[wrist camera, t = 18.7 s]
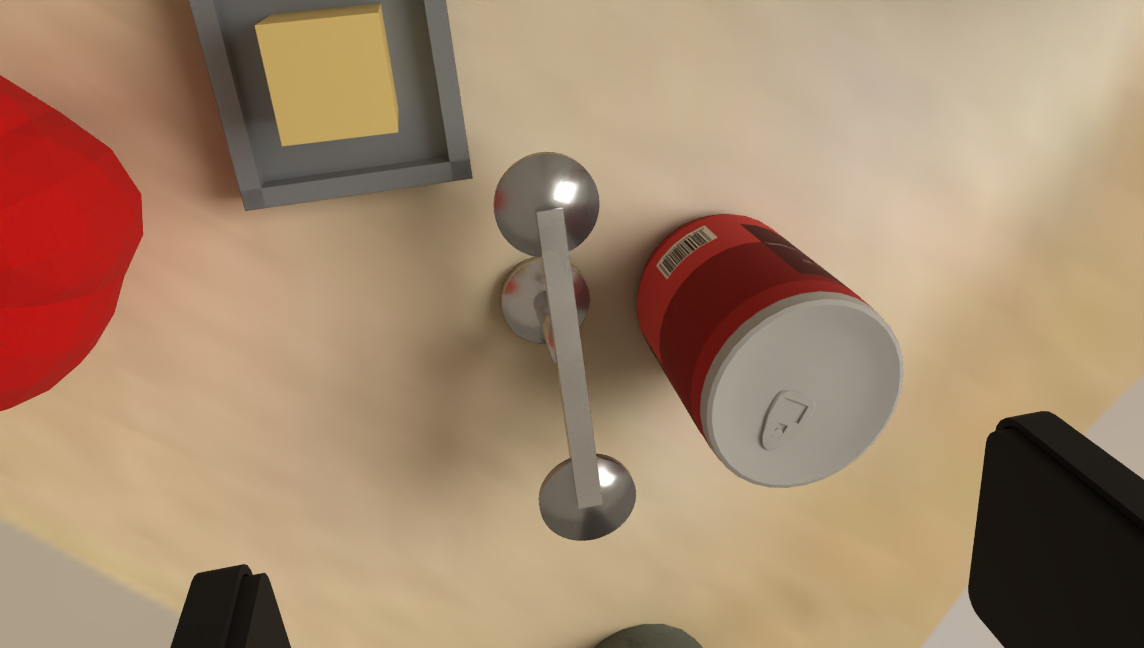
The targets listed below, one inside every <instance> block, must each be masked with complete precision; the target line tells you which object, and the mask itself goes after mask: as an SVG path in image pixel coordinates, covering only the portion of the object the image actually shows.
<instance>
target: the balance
mask: <svg viewBox="0 0 1144 648" xmlns="http://www.w3.org/2000/svg"><path fill="white" fill-rule="evenodd" d="M598 213H599V195H598V191H597V187H596V185H595V183H594V180H593V179H592V177H591V176H590V174H589V173H588V172H587V171H586V169H585V168H584V167H583V166H582V165H581V164H580V163H578V162H577V161H576V160H574V159H572V158H570V157H568V156H566V155H563V154H560V153H554V152H540V153H535V154H532V155H529V156H526V157H524V158H522V159H520V160H519V161H517V162H516V163H514V164H513V165H512V166H511V167H510V168H509V169H508V170H507V171H506V172H505V173H504V175H503V176H502V178H501V179H500V181H499V183H498V185H497V188H496V191H495V195H494V214H495V219H496V222H497V225H498V227H499V229H500V231H501V233H502V235H503V236H504V238H505V239H506V240H507V241H508V242H509V243H510V244H511V245H512V246H513V247H515V248H516V249H518V250H519V251H521V252H523V253H526V254H528V255H532V256H537V257H532V258H530V259H527V260H525V261H523V262H521V263H520V264H518V265H517V266H516V267H515V268H513V270H512V271H511V272H510V273H509V274H508V276H507V277H506V279H505V281H504V283H503V286H502V289H501V296H500V300H501V307H502V311H503V314H504V317H505V320H506V322H507V324H508V325H509V327H510V328H511V329H512V330H513V331H514V332H515V333H516V334H517V335H518V336H520V337H522V338H524V339H526V340H528V341H532V342H537V343H547V346H548V348H549V351H550V354H551V357H552V360H553V362H554V364H555V366H556V367H557V371H558V378H559V385H560V392H561V399H562V406H563V413H564V420H565V427H566V434H567V441H568V448H569V455H570V458H569V459H567V460H565V461H563V462H562V463H560V464H558V465H557V466H556V467H555V468H553V470H552V471H551V472H550V473H549V474H548V475H547V476H546V478H545V480H544V481H543V483H542V486H541V488H540V492H539V507H540V511H541V515H542V518H543V520H544V522H545V523H546V525H547V526H548V527H549V528H550V529H551V530H552V531H553V532H554V533H556V534H558V535H559V536H562V537H564V538H567V539H571V540H579V541H585V540H593V539H597V538H600V537H603V536H605V535H607V534H609V533H611V532H613V531H614V530H616V529H617V528H618V527H620V526H621V525H622V524H623V523H624V522H625V521H626V519H627V518H628V517H629V515H630V514H631V512H632V510H633V507H634V504H635V499H636V489H635V485H634V482H633V479H632V477H631V475H630V473H629V471H628V470H627V468H626V467H625V466H624V465H623V464H622V463H620V462H619V461H618V460H616V459H614V458H612V457H609V456H607V455H602V454H596V449H595V442H594V435H593V427H592V420H591V413H590V405H589V398H588V390H587V383H586V376H585V368H584V361H583V354H582V346H581V339H580V331H579V326H580V325H581V323H582V322H583V320H584V319H585V317H586V314H587V312H588V308H589V291H588V288H587V285H586V283H585V281H584V279H583V277H582V276H581V274H580V272H579V271H578V270H577V269H576V268H575V267H574V266H573V265H572V264H571V263H570V258H569V251H571V250H573V249H574V248H576V247H577V246H579V245H580V244H581V243H582V242H583V241H584V240H585V239H586V238H587V237H588V235H589V234H590V233H591V231H592V229H593V227H594V226H595V223H596V220H597V217H598Z"/></svg>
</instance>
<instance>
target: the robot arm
mask: <svg viewBox="0 0 1144 648" xmlns="http://www.w3.org/2000/svg"><path fill="white" fill-rule="evenodd" d="M968 592H969V598H970V601H971V604H972V607H973V609H974V611H975V612H976V614H977V615H978V617H979V618H980V619H981V620H982V621H983V623H984V624H985V625H986V626H987V627H988V629H989V630H990V631H991V632H992V633H993V635H994V636H995V637H996V638H997V639H998V640H999V642H1000V643H1001V644H1002V645H1003V646H1004V648H1144V480H1143V479H1142V478H1141V477H1139V476H1138V475H1137V474H1135V473H1134V472H1132V471H1131V470H1130V469H1129V468H1127V467H1126V466H1124V465H1123V464H1122V463H1120V462H1119V461H1118V460H1116V459H1115V458H1113V457H1112V456H1111V455H1109V454H1108V453H1107V452H1105V451H1104V450H1103V449H1101V448H1100V447H1099V446H1097V445H1095V444H1094V443H1093V442H1092V441H1090V440H1089V439H1088V438H1086V437H1085V436H1084V435H1082V434H1081V433H1079V432H1078V431H1077V430H1075V429H1074V428H1073V427H1071V426H1070V425H1068V424H1067V423H1066V422H1064V421H1063V420H1062V419H1060V418H1059V417H1058V416H1056V415H1054V414H1053V413H1051V412H1048V411H1040V412H1035V413H1030V414H1024V415H1019V416H1014V417H1009V418H1005V419H1003V420H1001V421H1000V422H999V423H998V425H997V427H996V431H995V432H992V433H990V435H989V436H988V438H987V441H986V448H985V456H984V464H983V472H982V480H981V488H980V496H979V504H978V512H977V521H976V529H975V537H974V545H973V553H972V561H971V569H970V577H969V585H968ZM171 648H291V646H290V643H289V640H288V637H287V633H286V630H285V627H284V624H283V621H282V618H281V614H280V611H279V608H278V605H277V602H276V599H275V595H274V592H273V589H272V586H271V583H270V580H269V578H268V576H267V575H266V574H265V573H261V574H256V575H253V574H252V572H251V570H250V568H249V567H248V565H245V564H243V565H237V566H232V567H227V568H222V569H216V570H211V571H206V572H201V573H197V574H196V575H195V576H194V578H193V580H192V582H191V585H190V588H189V591H188V594H187V598H186V601H185V604H184V607H183V610H182V613H181V616H180V619H179V623H178V626H177V629H176V632H175V635H174V638H173V641H172V644H171Z"/></svg>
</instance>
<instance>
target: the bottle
mask: <svg viewBox="0 0 1144 648" xmlns="http://www.w3.org/2000/svg"><path fill="white" fill-rule="evenodd" d="M596 648H703V647H702V646H701V645H700V644H699V643H698V642H697V641H696V640H695V639H694V638H693V637H691V636H690V635H688V634H687V633H686V632H684V631H683V630H681V629H678V628H674V627H671V626H668V625H664V624H644V625H640V626H636V627H632V628H628V629H624V630H622V631H620V632H618V633H616V634H614V635H612V636H610V637H608V638H607V639H605V640H603V641H602V642H601V643H600V644H599V645H598V646H597V647H596Z"/></svg>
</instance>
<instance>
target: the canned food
mask: <svg viewBox="0 0 1144 648" xmlns="http://www.w3.org/2000/svg"><path fill="white" fill-rule="evenodd" d="M637 315H638V320H639V325H640V329H641V331H642V333H643V336H644V338H645V340H646V342H647V344H648V345H649V347H650V349H651V350H652V352H653V354H654V355H655V357H656V359H657V361H658V362H659V364H660V366H661V367H662V369H663V371H664V372H665V374H666V376H667V377H668V379H669V381H670V382H671V384H672V386H673V387H674V389H675V391H676V393H677V394H678V396H679V398H680V399H681V401H682V403H683V404H684V406H685V408H686V409H687V411H688V413H689V414H690V416H691V418H692V419H693V421H694V423H695V424H696V426H697V428H698V430H699V431H700V433H701V434H702V435H703V437H704V438H705V440H706V442H707V443H708V445H709V447H710V448H711V449H712V451H713V452H714V453H715V455H716V456H717V457H718V458H719V460H720V461H722V463H723V464H724V465H725V466H726V467H727V468H728V469H729V470H730V471H732V472H733V473H734V474H735V475H737V476H738V477H740V478H742V479H744V480H746V481H749V482H751V483H753V484H757V485H762V486H766V487H779V488H789V487H795V486H801V485H807V484H810V483H813V482H816V481H819V480H822V479H824V478H826V477H828V476H830V475H832V474H834V473H836V472H838V471H840V470H842V469H843V468H845V467H846V466H848V465H849V464H850V463H852V462H853V461H855V460H856V459H857V458H859V457H860V456H861V455H862V454H863V453H864V452H865V451H866V450H867V449H868V448H869V447H870V446H871V445H872V444H873V443H874V442H875V440H876V439H877V438H878V436H879V435H880V434H881V432H882V431H883V430H884V429H885V427H886V425H887V423H888V422H889V420H890V418H891V416H892V414H893V412H894V410H895V408H896V405H897V402H898V399H899V396H900V393H901V388H902V381H903V357H902V353H901V350H900V346H899V342H898V340H897V338H896V336H895V335H894V333H893V331H892V329H891V328H890V326H889V325H888V324H887V323H886V322H885V321H884V319H883V318H882V317H881V316H880V315H879V314H878V313H877V312H876V311H875V310H874V309H873V308H872V307H871V306H870V305H868V304H867V303H866V302H865V301H863V300H862V299H861V298H860V297H859V296H858V295H857V294H855V293H854V292H853V291H852V290H850V289H849V288H848V287H846V286H845V285H844V284H843V283H841V282H840V281H839V280H837V279H836V278H835V277H833V276H832V275H831V274H830V273H828V272H827V271H826V270H824V269H823V268H822V267H821V266H819V265H818V264H817V263H815V262H814V261H813V260H812V259H810V258H809V257H808V256H806V255H805V254H804V253H802V252H801V251H800V250H799V249H797V248H796V247H795V246H793V245H792V244H791V243H790V242H788V241H787V240H786V239H784V238H783V237H782V236H780V235H779V234H778V233H777V232H775V231H774V230H773V229H771V228H770V227H768V226H767V225H765V224H763V223H762V222H760V221H758V220H755V219H752V218H749V217H746V216H740V215H730V214H721V215H712V216H706V217H703V218H700V219H696V220H693V221H691V222H689V223H687V224H685V225H684V226H682V227H680V228H678V229H677V230H676V231H674V232H673V233H672V234H670V235H669V236H668V237H667V238H666V239H665V240H664V241H663V242H662V243H661V244H660V245H659V246H658V247H657V248H656V249H655V251H654V253H653V254H652V256H651V257H650V259H649V260H648V262H647V264H646V266H645V269H644V271H643V274H642V276H641V280H640V284H639V289H638V297H637Z"/></svg>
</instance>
